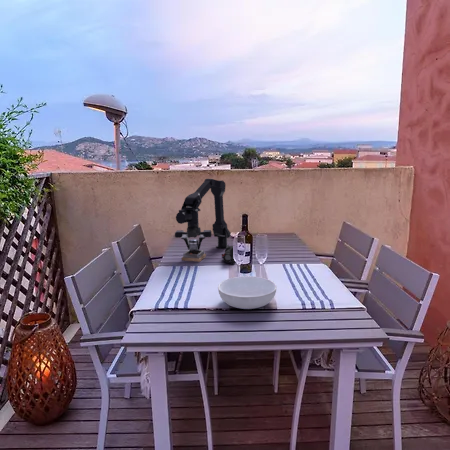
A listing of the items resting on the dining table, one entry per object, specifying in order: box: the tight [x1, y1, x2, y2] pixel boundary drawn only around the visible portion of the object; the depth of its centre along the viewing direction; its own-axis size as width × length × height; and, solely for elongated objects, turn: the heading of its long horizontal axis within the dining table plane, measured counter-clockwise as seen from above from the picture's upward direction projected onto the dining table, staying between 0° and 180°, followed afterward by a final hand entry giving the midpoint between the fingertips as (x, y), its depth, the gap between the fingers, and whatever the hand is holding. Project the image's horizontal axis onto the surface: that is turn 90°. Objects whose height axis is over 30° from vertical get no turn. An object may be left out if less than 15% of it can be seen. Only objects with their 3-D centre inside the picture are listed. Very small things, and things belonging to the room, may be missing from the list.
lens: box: [189, 238, 200, 254], centre depth 180 cm, size 5×5×7 cm
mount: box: [181, 249, 207, 263], centre depth 181 cm, size 10×10×4 cm
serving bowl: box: [217, 275, 278, 310], centre depth 123 cm, size 21×21×7 cm
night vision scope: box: [221, 245, 236, 265], centre depth 175 cm, size 8×18×10 cm
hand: (193, 249), depth 180 cm, fingers closed on lens, 5 cm apart
